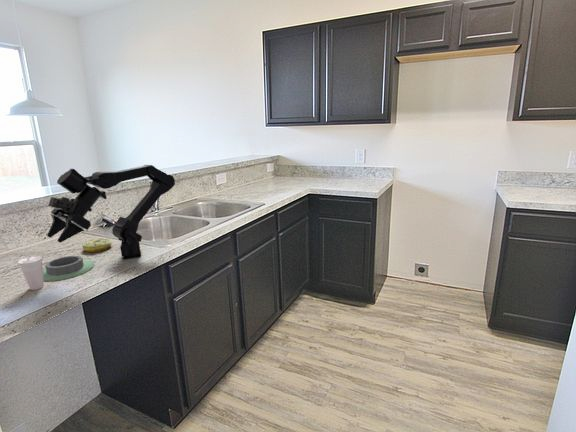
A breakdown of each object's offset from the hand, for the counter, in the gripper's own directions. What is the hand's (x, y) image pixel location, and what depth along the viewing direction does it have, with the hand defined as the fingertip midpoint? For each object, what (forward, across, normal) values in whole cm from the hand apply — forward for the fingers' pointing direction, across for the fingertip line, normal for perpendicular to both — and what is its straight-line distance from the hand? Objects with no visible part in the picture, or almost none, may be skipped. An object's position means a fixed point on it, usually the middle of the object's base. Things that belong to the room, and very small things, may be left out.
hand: (53, 239), depth 112 cm
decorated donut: (-5, -21, +25) cm, 33 cm away
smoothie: (+15, +1, +5) cm, 16 cm away
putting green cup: (+7, -7, +13) cm, 16 cm away
